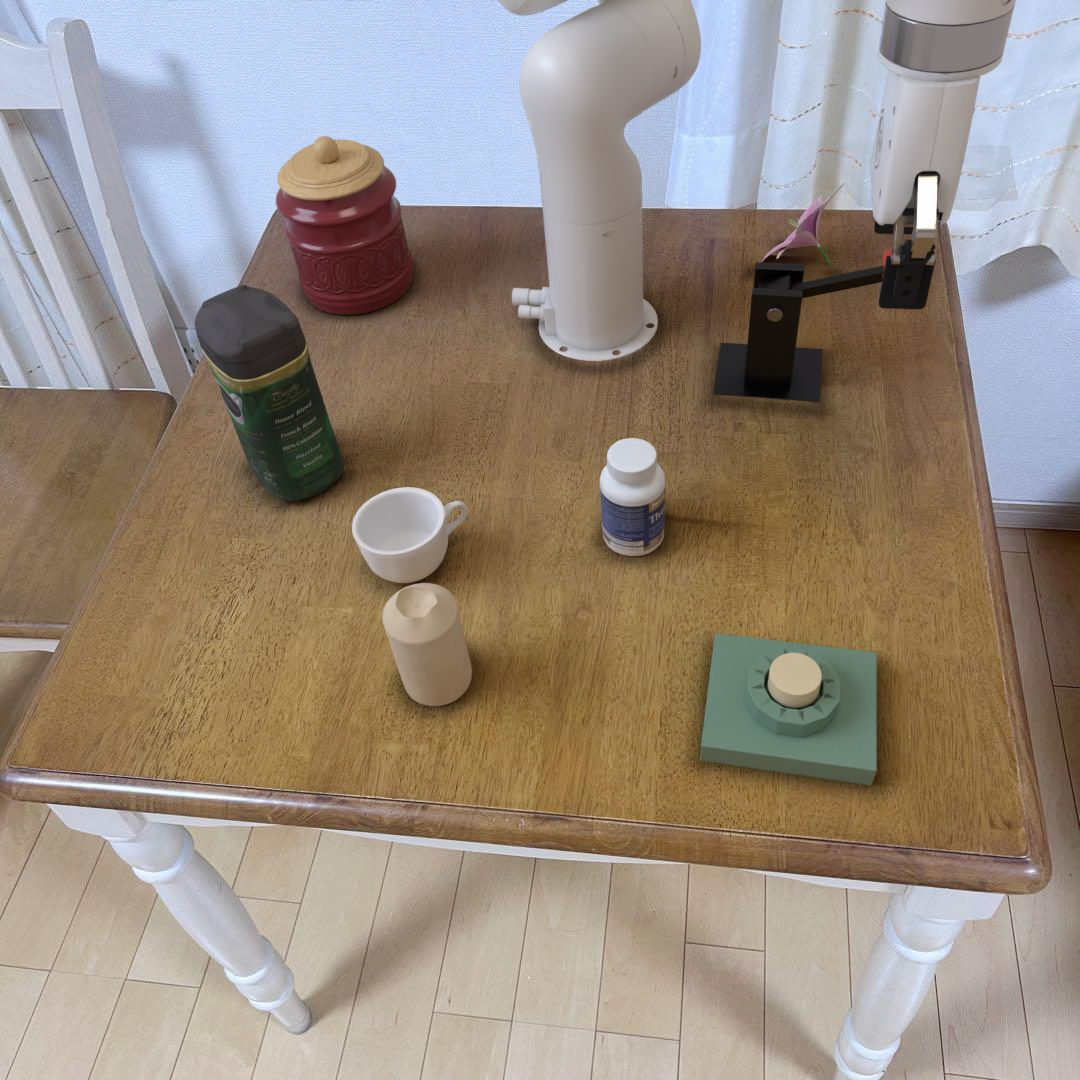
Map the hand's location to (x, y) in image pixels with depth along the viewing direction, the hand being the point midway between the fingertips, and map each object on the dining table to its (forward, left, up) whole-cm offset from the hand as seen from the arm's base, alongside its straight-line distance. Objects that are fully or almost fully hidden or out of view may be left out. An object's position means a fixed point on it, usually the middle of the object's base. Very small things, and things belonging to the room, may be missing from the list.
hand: (897, 267), depth 77 cm
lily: (-7, +31, -21) cm, 38 cm away
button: (-5, -27, -17) cm, 32 cm away
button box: (-5, -27, -21) cm, 34 cm away
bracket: (-9, +11, -21) cm, 25 cm away
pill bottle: (-19, -11, -21) cm, 30 cm away
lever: (-4, +11, -11) cm, 16 cm away
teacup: (-37, -16, -21) cm, 45 cm away
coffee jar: (-52, -7, -21) cm, 56 cm away
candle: (-32, -28, -21) cm, 47 cm away
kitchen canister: (-56, +23, -21) cm, 64 cm away
